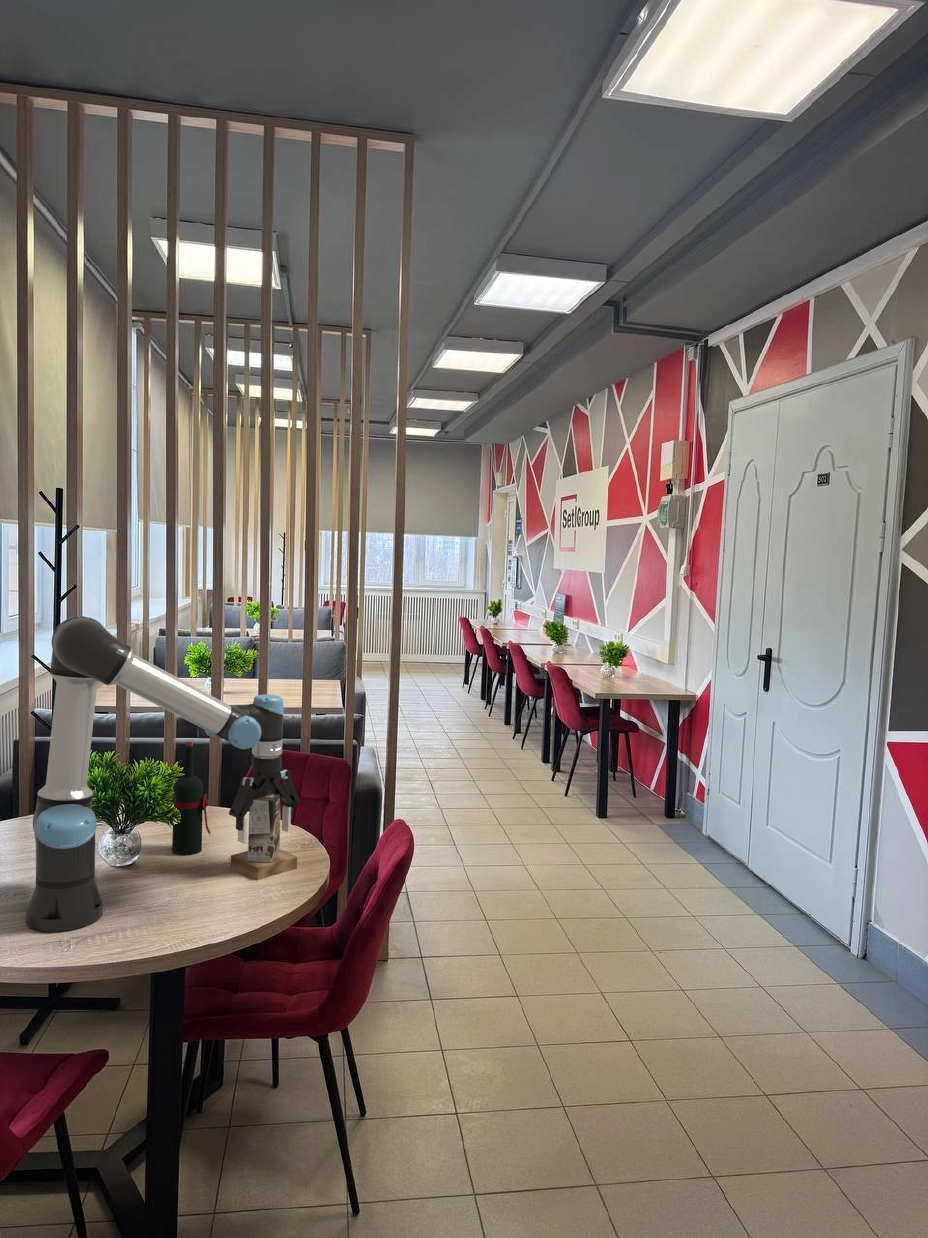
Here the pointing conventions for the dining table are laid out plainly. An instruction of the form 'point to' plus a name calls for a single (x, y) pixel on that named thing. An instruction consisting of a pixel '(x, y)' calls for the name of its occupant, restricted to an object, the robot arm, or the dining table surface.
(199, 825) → the wine bottle
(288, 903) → the dining table surface
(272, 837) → the coffee box
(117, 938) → the dining table surface
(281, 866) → the block
